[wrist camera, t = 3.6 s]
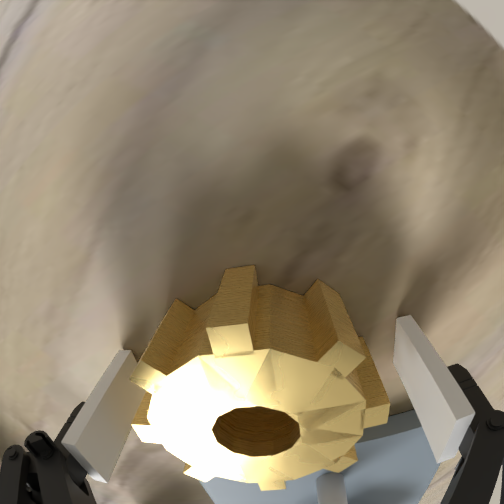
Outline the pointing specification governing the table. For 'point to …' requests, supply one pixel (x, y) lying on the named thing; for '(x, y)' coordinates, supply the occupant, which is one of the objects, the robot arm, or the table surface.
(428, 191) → the table surface
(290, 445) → the brass gear
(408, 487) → the gear board
